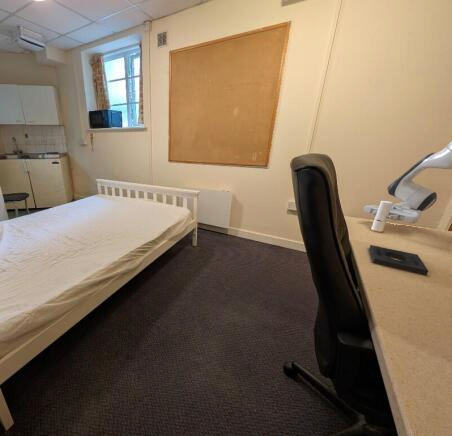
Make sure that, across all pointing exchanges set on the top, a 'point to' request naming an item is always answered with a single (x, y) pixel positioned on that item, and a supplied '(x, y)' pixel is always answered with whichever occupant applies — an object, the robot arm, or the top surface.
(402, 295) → the top surface
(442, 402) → the top surface
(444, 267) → the top surface
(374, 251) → the base pad
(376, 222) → the tube
